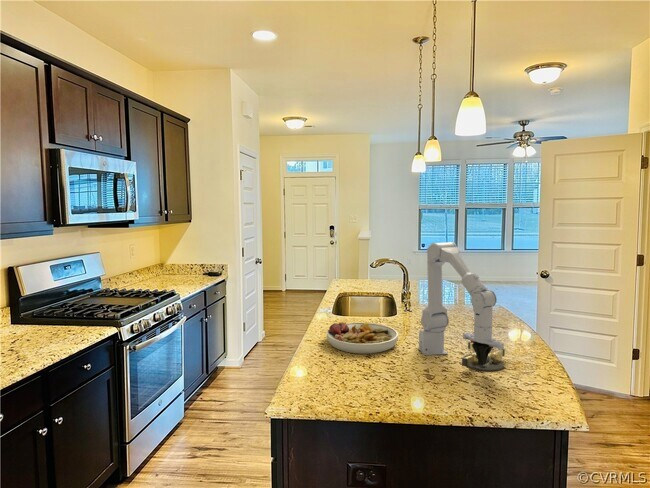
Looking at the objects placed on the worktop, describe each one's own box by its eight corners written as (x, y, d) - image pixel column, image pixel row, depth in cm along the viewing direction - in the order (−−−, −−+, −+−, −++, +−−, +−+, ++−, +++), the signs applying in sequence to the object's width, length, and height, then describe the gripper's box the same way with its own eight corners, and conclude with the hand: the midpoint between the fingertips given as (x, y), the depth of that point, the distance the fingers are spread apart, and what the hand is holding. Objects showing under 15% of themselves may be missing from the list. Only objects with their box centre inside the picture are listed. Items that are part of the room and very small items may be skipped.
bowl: (401, 336, 186) (401, 318, 185) (393, 359, 157) (393, 339, 156) (336, 331, 194) (336, 314, 193) (317, 352, 165) (317, 333, 164)
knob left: (474, 359, 151) (474, 350, 151) (482, 362, 148) (483, 353, 148) (459, 365, 146) (459, 355, 146) (467, 368, 143) (468, 358, 143)
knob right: (499, 364, 147) (500, 354, 146) (489, 361, 149) (489, 352, 149) (507, 357, 153) (507, 348, 153) (497, 355, 155) (497, 346, 155)
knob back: (484, 356, 154) (484, 347, 154) (474, 357, 154) (475, 348, 153) (474, 349, 162) (474, 340, 162) (465, 349, 162) (465, 340, 162)
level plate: (472, 372, 144) (473, 359, 143) (456, 357, 158) (456, 346, 157) (511, 370, 145) (511, 357, 144) (491, 356, 159) (492, 344, 158)
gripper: (509, 328, 137) (508, 368, 139) (471, 319, 149) (471, 355, 150) (497, 332, 133) (496, 373, 135) (459, 322, 145) (458, 360, 146)
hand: (482, 364), depth 142 cm, fingers closed
